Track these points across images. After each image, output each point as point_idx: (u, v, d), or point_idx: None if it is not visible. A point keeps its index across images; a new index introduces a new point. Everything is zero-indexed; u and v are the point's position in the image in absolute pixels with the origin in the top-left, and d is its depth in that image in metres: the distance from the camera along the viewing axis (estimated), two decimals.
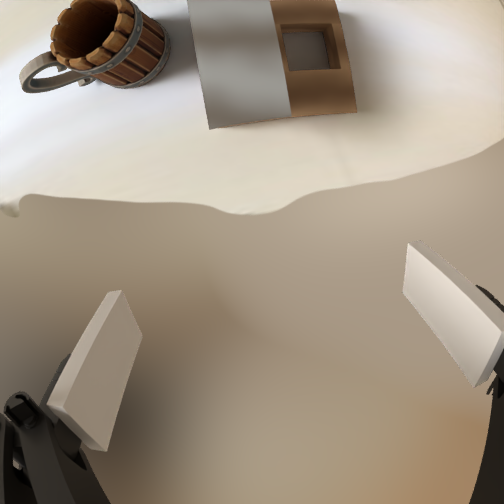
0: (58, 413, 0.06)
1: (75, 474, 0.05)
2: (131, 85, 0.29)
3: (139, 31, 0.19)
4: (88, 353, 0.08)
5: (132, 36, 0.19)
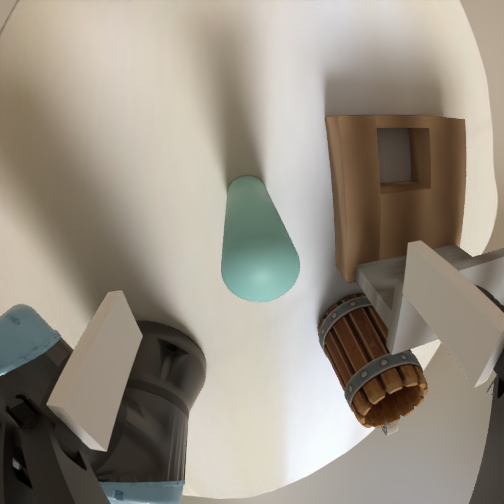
0: (58, 413, 0.06)
1: (75, 474, 0.05)
2: None
3: (403, 354, 0.25)
4: (88, 353, 0.08)
5: (412, 361, 0.24)
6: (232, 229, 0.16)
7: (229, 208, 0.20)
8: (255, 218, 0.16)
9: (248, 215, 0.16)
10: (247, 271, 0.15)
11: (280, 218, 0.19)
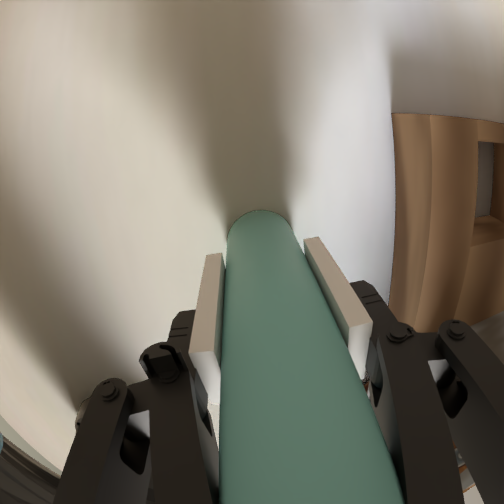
0: (199, 361, 0.08)
1: (207, 442, 0.06)
2: None
3: None
4: (217, 302, 0.10)
5: None
6: (244, 474, 0.04)
7: (231, 322, 0.09)
8: (317, 454, 0.04)
9: (291, 423, 0.05)
10: None
11: None
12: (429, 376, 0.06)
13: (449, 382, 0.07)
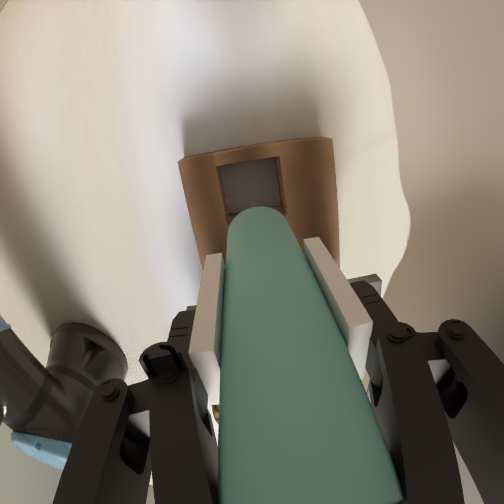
0: (199, 361, 0.08)
1: (207, 442, 0.06)
2: None
3: None
4: (217, 302, 0.10)
5: None
6: (242, 441, 0.05)
7: (231, 308, 0.09)
8: (309, 420, 0.05)
9: (285, 393, 0.05)
10: None
11: (347, 349, 0.08)
12: (430, 376, 0.06)
13: (449, 382, 0.07)
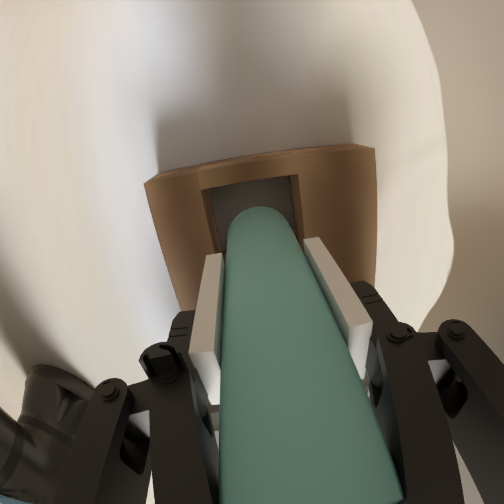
0: (199, 361, 0.08)
1: (207, 442, 0.06)
2: None
3: None
4: (217, 302, 0.10)
5: None
6: (243, 441, 0.05)
7: (231, 307, 0.09)
8: (310, 420, 0.05)
9: (285, 392, 0.05)
10: None
11: (347, 349, 0.08)
12: (429, 376, 0.06)
13: (449, 382, 0.07)
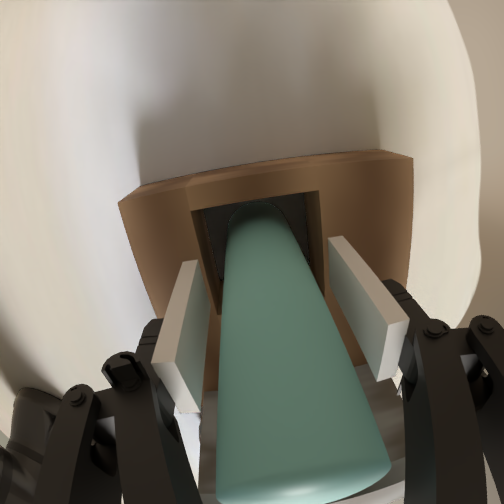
0: (162, 371, 0.08)
1: (171, 448, 0.06)
2: None
3: None
4: (185, 311, 0.10)
5: None
6: (239, 402, 0.06)
7: (230, 291, 0.10)
8: (298, 381, 0.06)
9: (277, 358, 0.06)
10: (275, 497, 0.05)
11: (336, 327, 0.09)
12: (462, 372, 0.05)
13: (476, 377, 0.06)
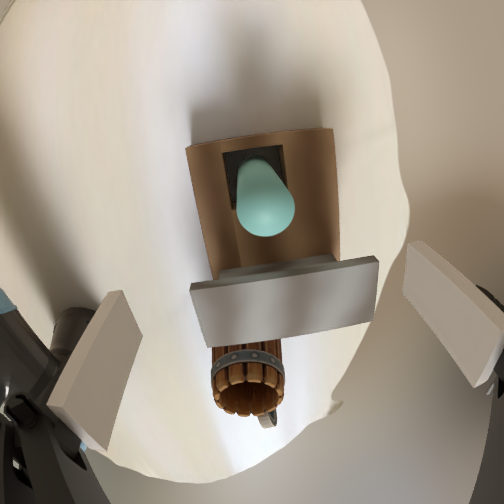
0: (58, 413, 0.06)
1: (75, 474, 0.05)
2: None
3: (256, 352, 0.32)
4: (88, 353, 0.08)
5: (263, 360, 0.31)
6: (245, 182, 0.21)
7: (241, 174, 0.25)
8: (262, 175, 0.21)
9: (257, 174, 0.21)
10: (255, 211, 0.20)
11: None
12: None
13: None
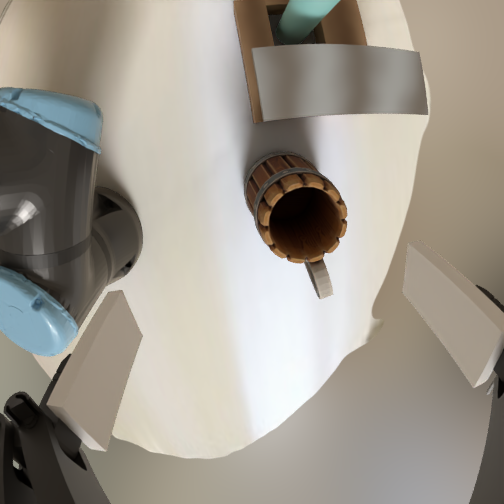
0: (58, 413, 0.06)
1: (75, 474, 0.05)
2: None
3: (310, 169, 0.27)
4: (88, 353, 0.08)
5: (320, 174, 0.26)
6: None
7: None
8: None
9: None
10: None
11: None
12: None
13: None
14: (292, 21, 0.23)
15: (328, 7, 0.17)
